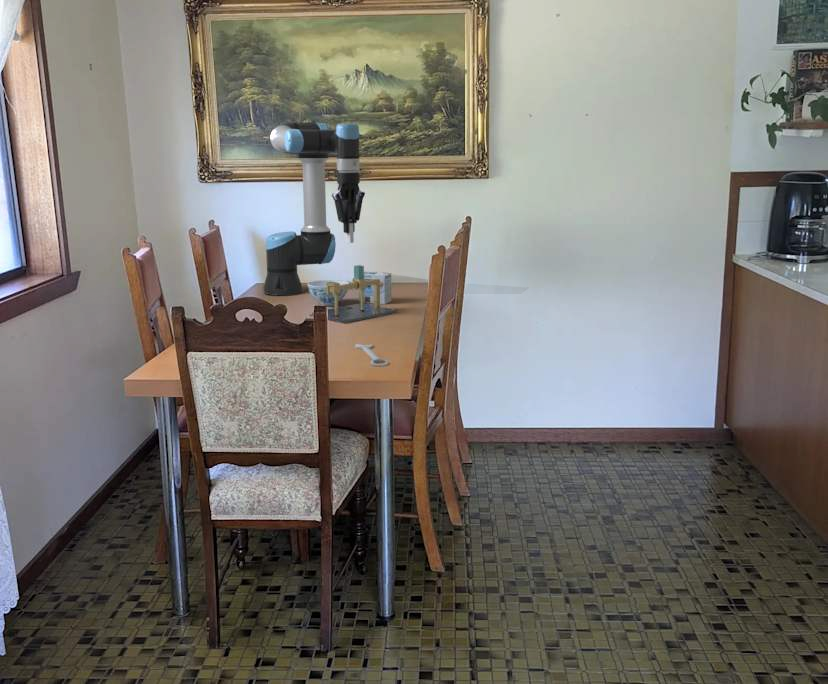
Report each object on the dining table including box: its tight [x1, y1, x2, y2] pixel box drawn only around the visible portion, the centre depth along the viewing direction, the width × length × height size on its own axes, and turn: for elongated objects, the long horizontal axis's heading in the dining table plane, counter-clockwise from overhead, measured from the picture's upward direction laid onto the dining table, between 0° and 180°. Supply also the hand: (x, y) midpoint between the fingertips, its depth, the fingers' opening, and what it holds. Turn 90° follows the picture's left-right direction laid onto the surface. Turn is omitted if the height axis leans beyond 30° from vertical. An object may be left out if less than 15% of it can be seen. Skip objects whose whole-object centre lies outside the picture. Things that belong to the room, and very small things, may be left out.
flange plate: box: [311, 302, 397, 324], centre depth 295 cm, size 18×24×1 cm
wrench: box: [354, 343, 390, 367], centre depth 241 cm, size 25×2×5 cm
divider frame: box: [326, 279, 381, 316], centre depth 295 cm, size 4×22×11 cm, turn 136°
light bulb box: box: [358, 271, 393, 305], centre depth 316 cm, size 11×7×11 cm, turn 70°
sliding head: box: [352, 264, 366, 310], centre depth 295 cm, size 4×2×15 cm, turn 46°
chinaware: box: [307, 279, 349, 307], centre depth 312 cm, size 15×15×8 cm
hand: (349, 242), depth 291 cm, fingers closed
